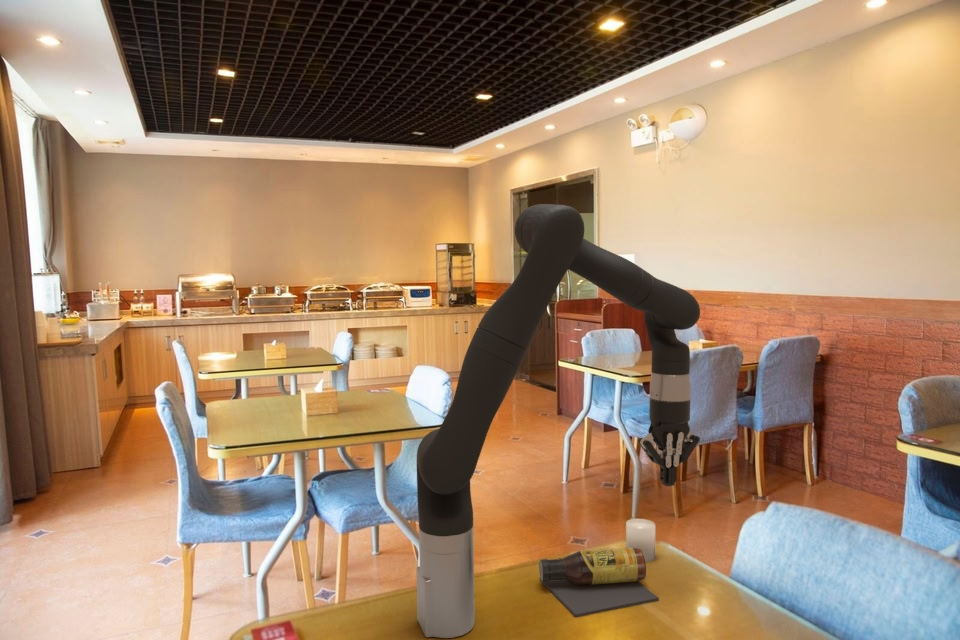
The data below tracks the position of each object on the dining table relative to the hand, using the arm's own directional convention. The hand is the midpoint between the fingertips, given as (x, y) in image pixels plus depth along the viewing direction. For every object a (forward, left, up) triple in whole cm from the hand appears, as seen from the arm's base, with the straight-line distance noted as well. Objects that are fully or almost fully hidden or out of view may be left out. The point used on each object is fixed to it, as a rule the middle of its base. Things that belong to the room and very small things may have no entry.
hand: (668, 484), depth 126 cm
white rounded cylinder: (+1, +11, -19) cm, 22 cm away
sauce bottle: (-5, +1, -15) cm, 16 cm away
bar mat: (-15, +1, -19) cm, 24 cm away
